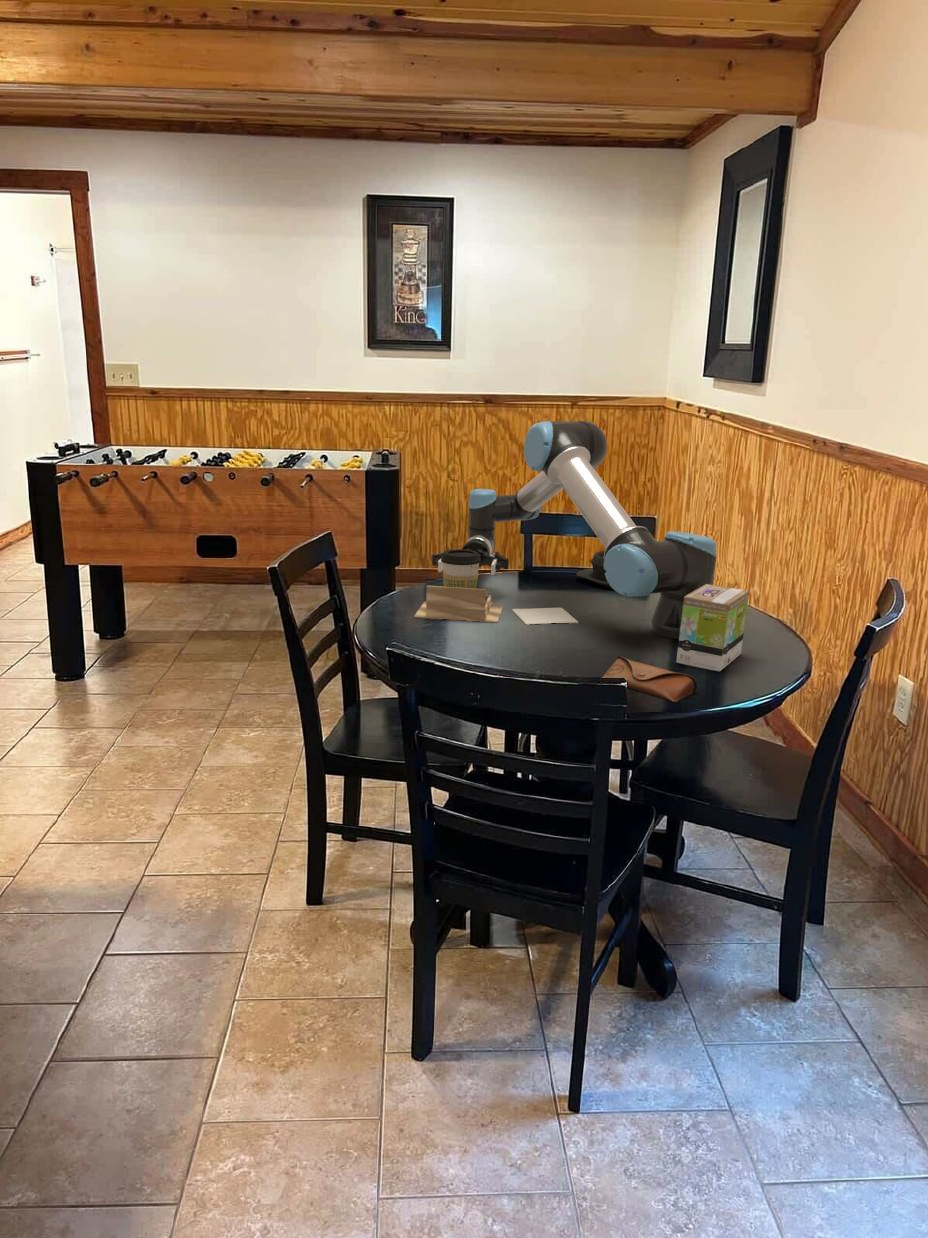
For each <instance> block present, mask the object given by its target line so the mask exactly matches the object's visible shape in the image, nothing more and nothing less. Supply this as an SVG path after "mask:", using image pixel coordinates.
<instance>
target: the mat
mask: <svg viewBox="0 0 928 1238" xmlns="http://www.w3.org/2000/svg"><path fill="white" fill-rule="evenodd" d="M511 611H512V612H513V613H514V614H515V615H516V616H517V617H518V618H519V619H520V621H521V622H522V623H523V624H526V625H525V626H531V625H530V624H533V625H534V624H541V625H551V624H550V623H569V624H579V621H578V620H577V619H576V618H574V617H573V616H572V615H571V614H570V613H569V612H567V611H566V609H564V608H563V607H543V608H542V607H539V608H511ZM548 623H549V624H548ZM533 625H532V626H533Z"/></svg>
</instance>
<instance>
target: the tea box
mask: <svg viewBox="0 0 928 1238" xmlns="http://www.w3.org/2000/svg"><path fill="white" fill-rule="evenodd" d="M749 594H750V591H749V590H745V589H739V588H734V587H733V588H732V587H727V586H722V585H715V584H713V585H709V584H705V585H704V586H702V587H700V588H698V589H697V590H695V591H693V592H692V593H690V594H688V595H686V596H685V597H684V603H683V611H682V619H681V627H680V636H679V639H678V645H677V653H676V661H675V662H676V663H678V664H682V665H686V666H690V667H695V668H699V669H704V670H709V671H715V672H721V671H722V670H723V669H725V668H726V667H727V666H728V665H729V664H731V662H734V661H735V660H736V658H738V657H739V656H740V655H741V653H742V650H743V649H742V648H743V642H744V635H745V627H746V625H745V624H746V621H747V620H746V619H747V611H748V603H749V596H750V595H749Z"/></svg>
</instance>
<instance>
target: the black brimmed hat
mask: <svg viewBox="0 0 928 1238" xmlns="http://www.w3.org/2000/svg"><path fill="white" fill-rule="evenodd" d="M604 552H605V550H601V551H597V552H595V553H594V554H593V555H592V558H591V559H590V561H589V562H590V564H591V565H592V568H586V569H581V570H579V571H577V572H576V573H575V575H576V577H578V578H581V579H585V580H588V581H591V582H594V583H597V584H598V585H601V586H604V587H607V588H611V589H613V588H612V587H611V586H610V584H609V583H608V581H607V579H606V576H605V573H606V570H605V569H604V559H605V558H604Z"/></svg>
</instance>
